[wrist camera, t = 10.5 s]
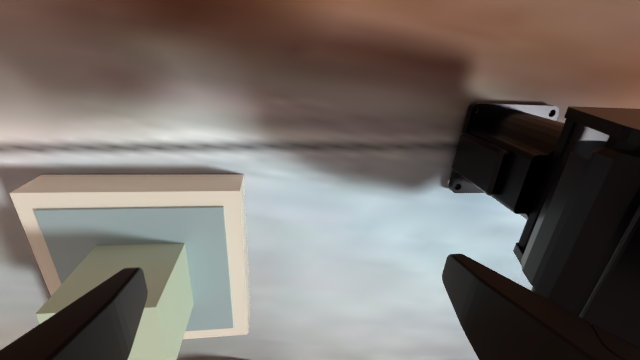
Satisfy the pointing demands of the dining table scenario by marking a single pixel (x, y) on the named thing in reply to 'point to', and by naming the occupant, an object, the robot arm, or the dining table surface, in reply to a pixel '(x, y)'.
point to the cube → (162, 301)
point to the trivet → (148, 232)
